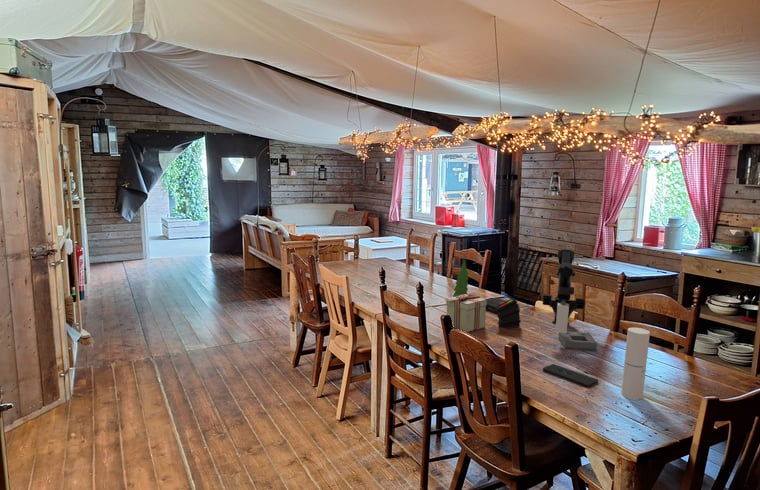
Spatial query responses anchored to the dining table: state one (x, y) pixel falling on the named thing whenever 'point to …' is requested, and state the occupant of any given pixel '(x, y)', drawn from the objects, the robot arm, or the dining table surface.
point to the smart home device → (570, 375)
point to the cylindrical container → (635, 363)
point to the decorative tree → (461, 281)
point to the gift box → (467, 311)
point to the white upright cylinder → (562, 317)
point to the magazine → (508, 314)
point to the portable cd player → (494, 304)
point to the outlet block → (578, 341)
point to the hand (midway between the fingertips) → (562, 317)
